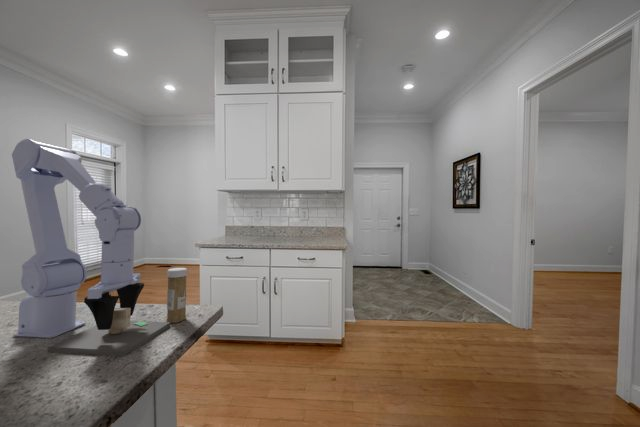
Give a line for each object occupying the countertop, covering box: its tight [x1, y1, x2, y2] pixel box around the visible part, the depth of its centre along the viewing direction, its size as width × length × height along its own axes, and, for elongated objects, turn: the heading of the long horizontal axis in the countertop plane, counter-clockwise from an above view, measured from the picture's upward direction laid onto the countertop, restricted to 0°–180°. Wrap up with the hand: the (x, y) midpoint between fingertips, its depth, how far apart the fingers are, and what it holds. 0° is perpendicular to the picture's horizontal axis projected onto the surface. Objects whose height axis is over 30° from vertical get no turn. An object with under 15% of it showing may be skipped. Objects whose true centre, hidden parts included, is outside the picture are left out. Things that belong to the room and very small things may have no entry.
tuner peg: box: [108, 307, 148, 334], centre depth 59 cm, size 9×3×5 cm, turn 96°
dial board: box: [47, 320, 171, 357], centre depth 59 cm, size 16×14×1 cm
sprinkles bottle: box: [166, 267, 188, 324], centre depth 69 cm, size 5×5×13 cm
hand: (116, 321), depth 59 cm, fingers open, 7 cm apart
